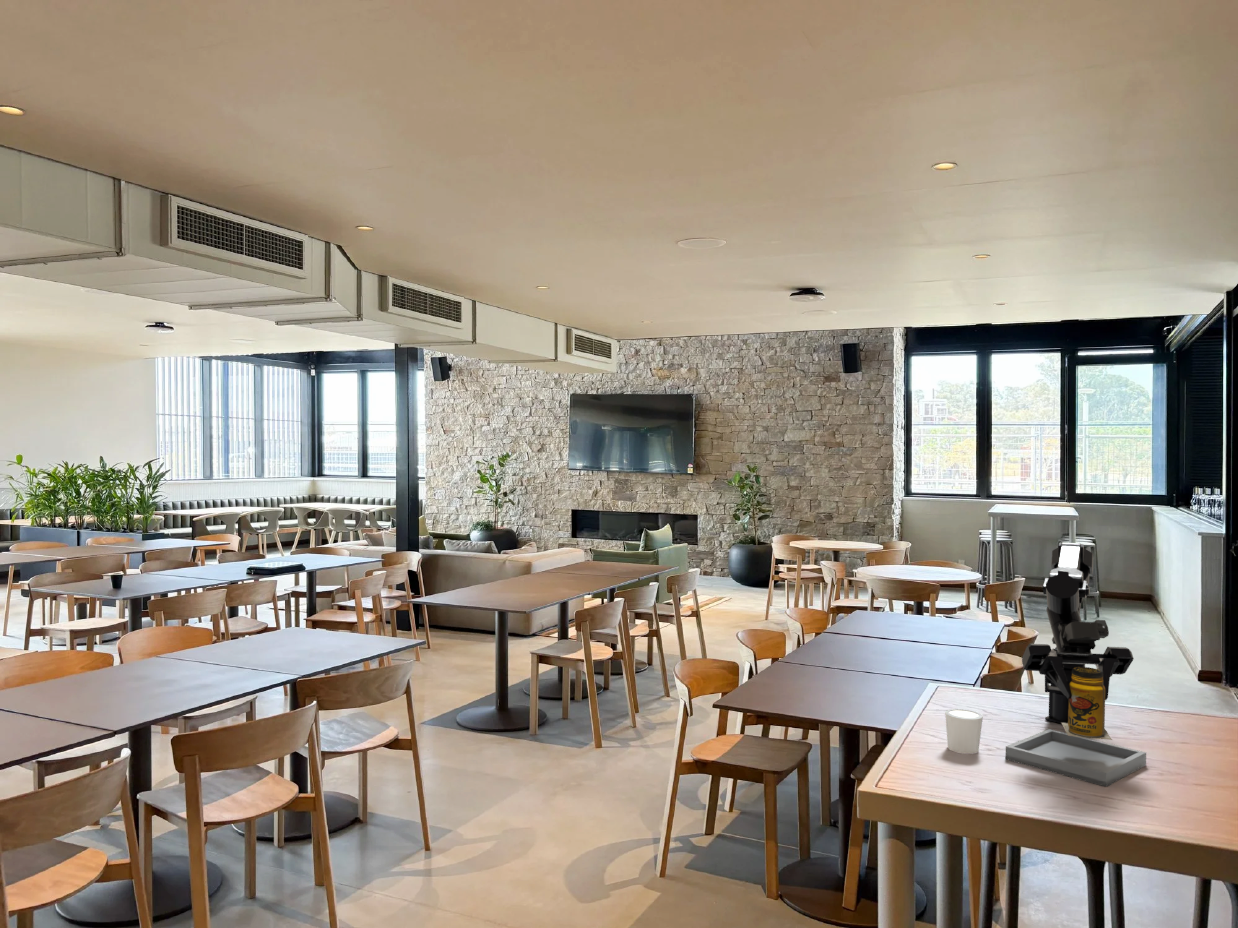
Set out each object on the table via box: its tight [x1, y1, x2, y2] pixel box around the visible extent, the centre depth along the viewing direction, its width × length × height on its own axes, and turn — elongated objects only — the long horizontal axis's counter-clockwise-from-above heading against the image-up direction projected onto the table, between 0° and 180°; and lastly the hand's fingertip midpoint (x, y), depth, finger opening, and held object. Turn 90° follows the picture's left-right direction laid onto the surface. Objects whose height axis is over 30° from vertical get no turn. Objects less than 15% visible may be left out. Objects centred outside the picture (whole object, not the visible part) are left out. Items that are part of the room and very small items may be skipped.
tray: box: [1004, 728, 1147, 787], centre depth 170 cm, size 18×18×2 cm
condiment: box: [1061, 666, 1113, 741], centre depth 170 cm, size 7×8×12 cm
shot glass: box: [944, 708, 984, 755], centre depth 177 cm, size 7×7×7 cm
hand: (1087, 698), depth 169 cm, fingers closed on condiment, 6 cm apart
